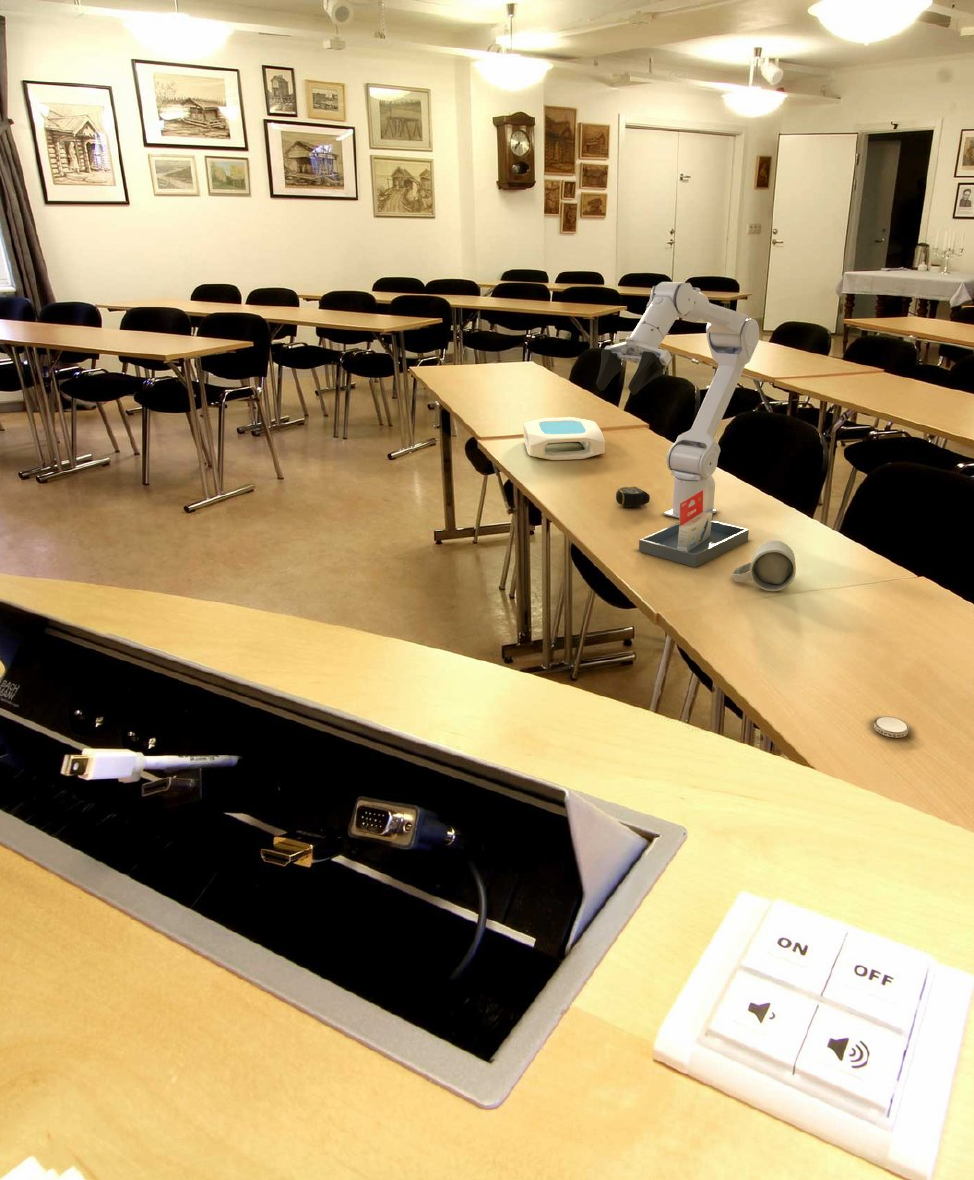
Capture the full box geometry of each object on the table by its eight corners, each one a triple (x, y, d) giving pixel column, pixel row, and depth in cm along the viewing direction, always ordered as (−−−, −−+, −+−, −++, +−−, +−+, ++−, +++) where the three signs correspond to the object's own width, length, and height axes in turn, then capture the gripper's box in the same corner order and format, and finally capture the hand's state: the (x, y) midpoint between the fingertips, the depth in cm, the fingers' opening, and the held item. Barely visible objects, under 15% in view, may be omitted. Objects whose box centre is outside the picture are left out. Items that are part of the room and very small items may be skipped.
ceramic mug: (792, 576, 154) (796, 536, 151) (793, 593, 147) (797, 552, 144) (733, 572, 157) (735, 533, 154) (730, 589, 150) (733, 549, 147)
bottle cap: (874, 734, 106) (875, 730, 106) (873, 718, 110) (874, 713, 110) (909, 739, 105) (910, 735, 105) (907, 723, 108) (907, 718, 108)
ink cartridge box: (711, 536, 173) (714, 491, 169) (687, 553, 165) (690, 505, 161) (699, 534, 175) (702, 489, 171) (676, 550, 167) (678, 503, 163)
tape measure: (650, 507, 194) (651, 492, 192) (623, 511, 192) (624, 495, 190) (636, 499, 200) (637, 484, 198) (610, 503, 198) (611, 487, 196)
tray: (692, 527, 181) (693, 515, 180) (747, 540, 172) (749, 529, 171) (638, 551, 169) (639, 539, 168) (694, 567, 160) (695, 555, 159)
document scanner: (590, 435, 261) (590, 415, 258) (605, 458, 235) (605, 436, 233) (523, 438, 260) (522, 418, 258) (530, 461, 235) (530, 439, 232)
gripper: (611, 317, 163) (576, 371, 160) (673, 320, 153) (638, 378, 150) (625, 342, 168) (592, 395, 165) (686, 347, 158) (652, 403, 155)
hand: (615, 389), depth 158 cm, fingers open, 7 cm apart
